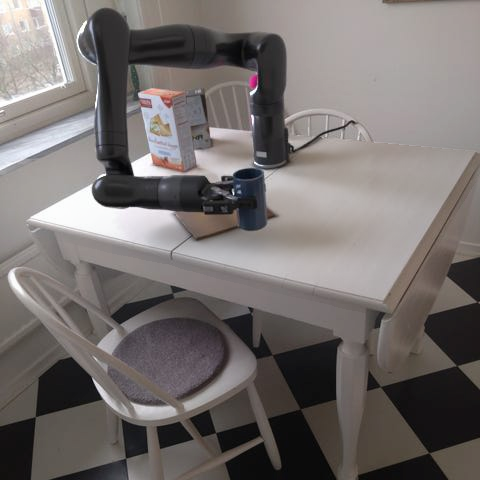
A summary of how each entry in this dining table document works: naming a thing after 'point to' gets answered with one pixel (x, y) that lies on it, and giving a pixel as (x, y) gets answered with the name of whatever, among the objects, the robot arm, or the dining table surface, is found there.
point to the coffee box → (198, 117)
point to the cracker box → (168, 128)
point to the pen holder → (251, 185)
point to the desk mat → (209, 222)
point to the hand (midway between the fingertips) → (261, 195)
